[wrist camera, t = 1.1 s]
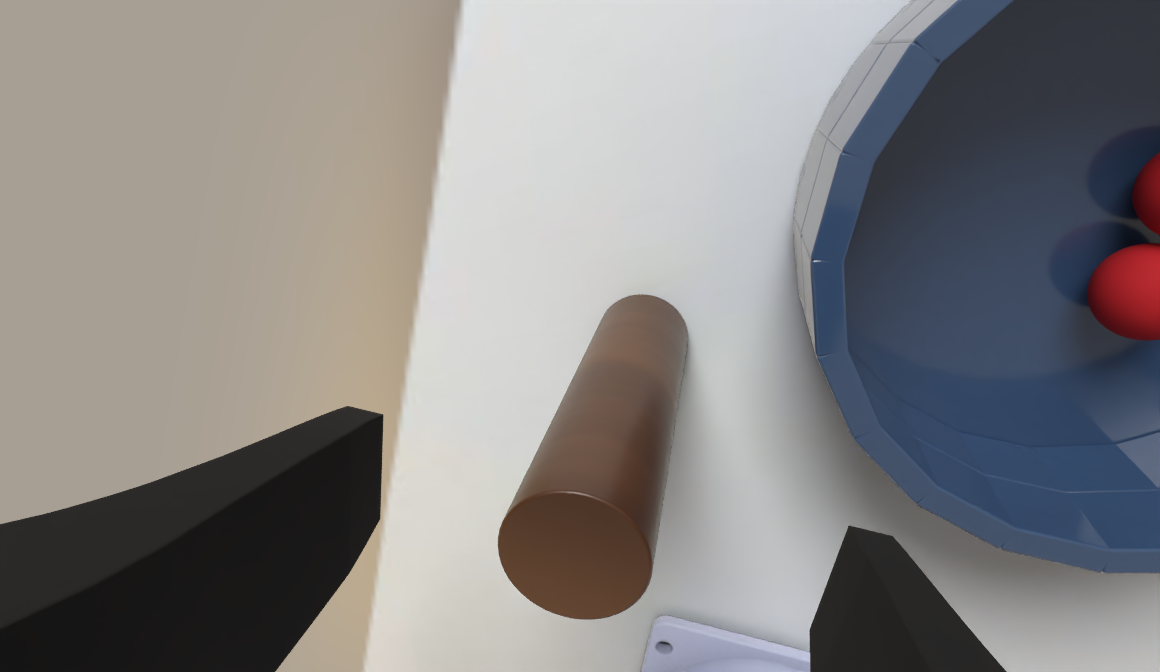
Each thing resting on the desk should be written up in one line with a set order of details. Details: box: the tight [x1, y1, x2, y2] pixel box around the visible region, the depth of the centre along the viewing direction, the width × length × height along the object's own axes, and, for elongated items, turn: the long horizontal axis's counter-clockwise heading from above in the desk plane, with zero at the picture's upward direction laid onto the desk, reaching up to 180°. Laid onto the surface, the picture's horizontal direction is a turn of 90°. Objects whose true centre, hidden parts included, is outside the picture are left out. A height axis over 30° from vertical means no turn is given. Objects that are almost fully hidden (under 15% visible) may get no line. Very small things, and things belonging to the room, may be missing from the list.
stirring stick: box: [498, 295, 688, 619], centre depth 15 cm, size 2×2×9 cm
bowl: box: [793, 0, 1160, 573], centre depth 13 cm, size 12×12×4 cm
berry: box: [1087, 243, 1160, 341], centre depth 14 cm, size 2×2×2 cm
